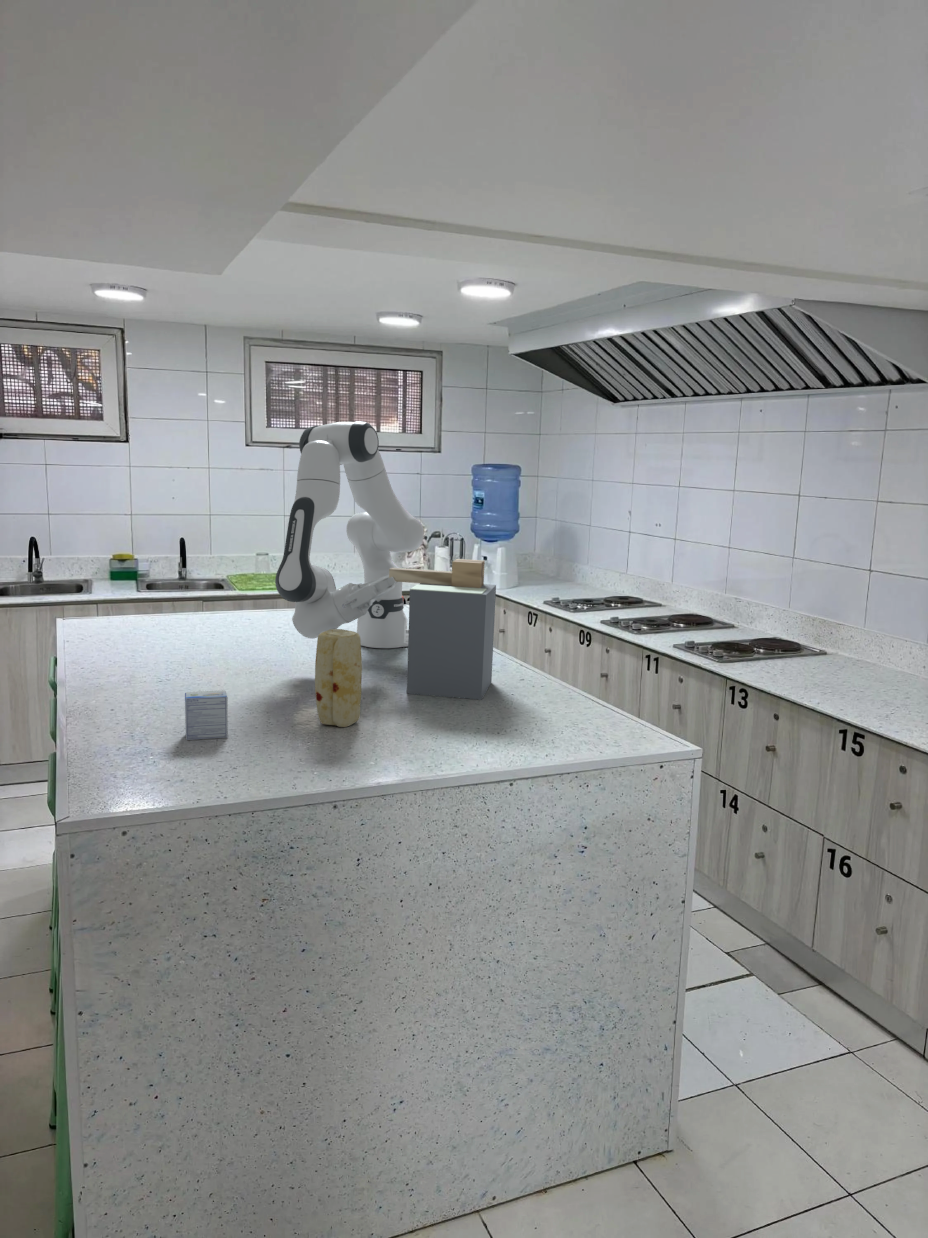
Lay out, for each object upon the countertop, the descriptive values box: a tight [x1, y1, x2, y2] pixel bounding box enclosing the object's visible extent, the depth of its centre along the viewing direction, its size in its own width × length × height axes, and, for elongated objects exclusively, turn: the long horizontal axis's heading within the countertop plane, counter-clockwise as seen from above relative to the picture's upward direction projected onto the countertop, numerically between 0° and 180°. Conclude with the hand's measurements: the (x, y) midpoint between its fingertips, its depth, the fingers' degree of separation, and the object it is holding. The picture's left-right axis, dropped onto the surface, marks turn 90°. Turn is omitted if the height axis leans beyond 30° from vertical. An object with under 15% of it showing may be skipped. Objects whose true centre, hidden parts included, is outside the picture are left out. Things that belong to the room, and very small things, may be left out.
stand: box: [406, 583, 497, 701], centre depth 214 cm, size 17×18×25 cm
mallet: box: [389, 558, 486, 588], centre depth 217 cm, size 6×23×6 cm, turn 80°
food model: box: [314, 628, 363, 728], centre depth 182 cm, size 10×7×20 cm
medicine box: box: [184, 689, 229, 741], centre depth 172 cm, size 8×4×9 cm, turn 108°
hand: (399, 576), depth 218 cm, fingers open, 8 cm apart
